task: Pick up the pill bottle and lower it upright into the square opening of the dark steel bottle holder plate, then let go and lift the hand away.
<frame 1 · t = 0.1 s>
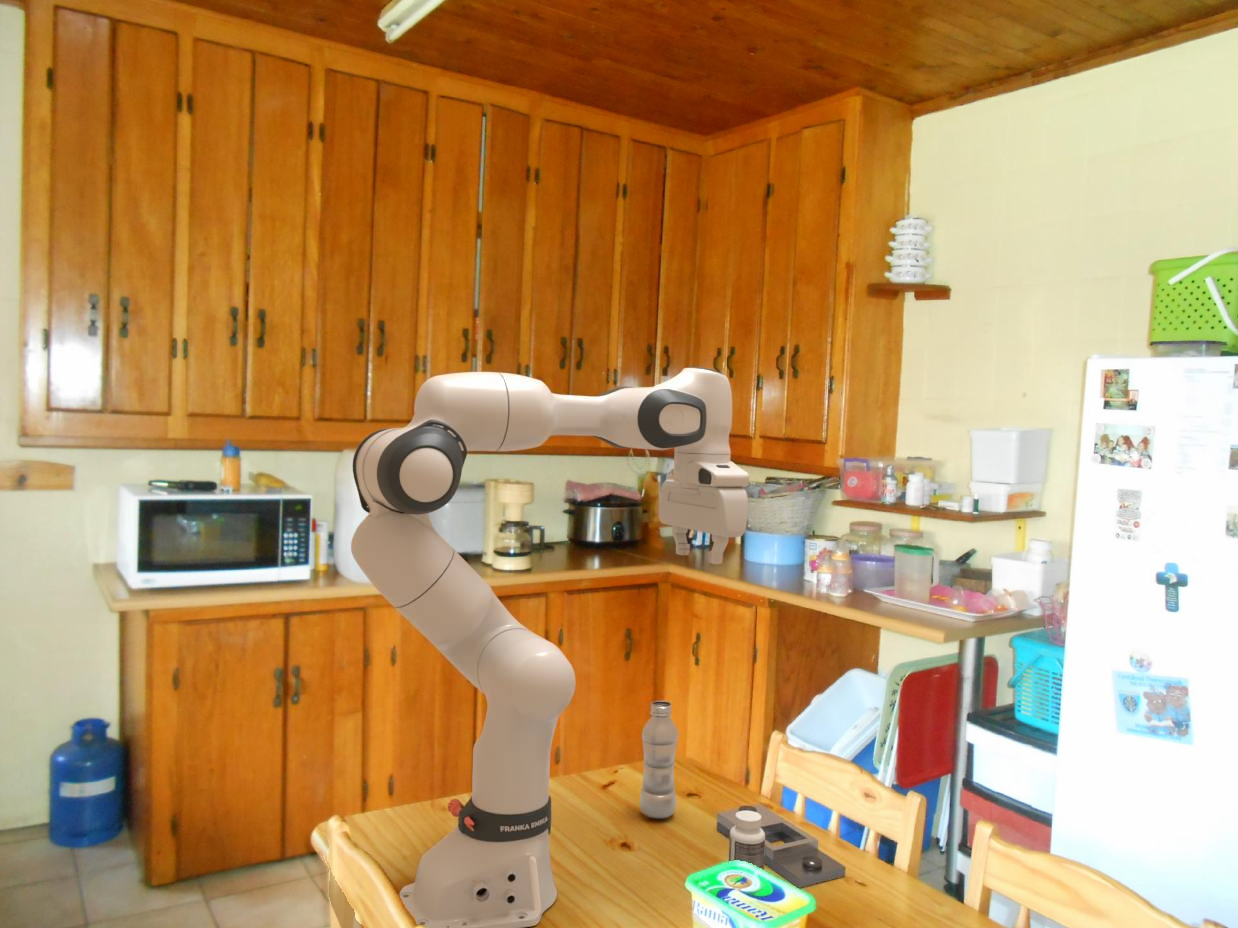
hand: (698, 558, 148), 48 cm above the table, tool pointing down, fingers open, 8 cm apart
plastic bottle: (657, 816, 165), on the table
pill bottle: (745, 879, 143), on the table
bottle holder plate: (777, 851, 152), on the table
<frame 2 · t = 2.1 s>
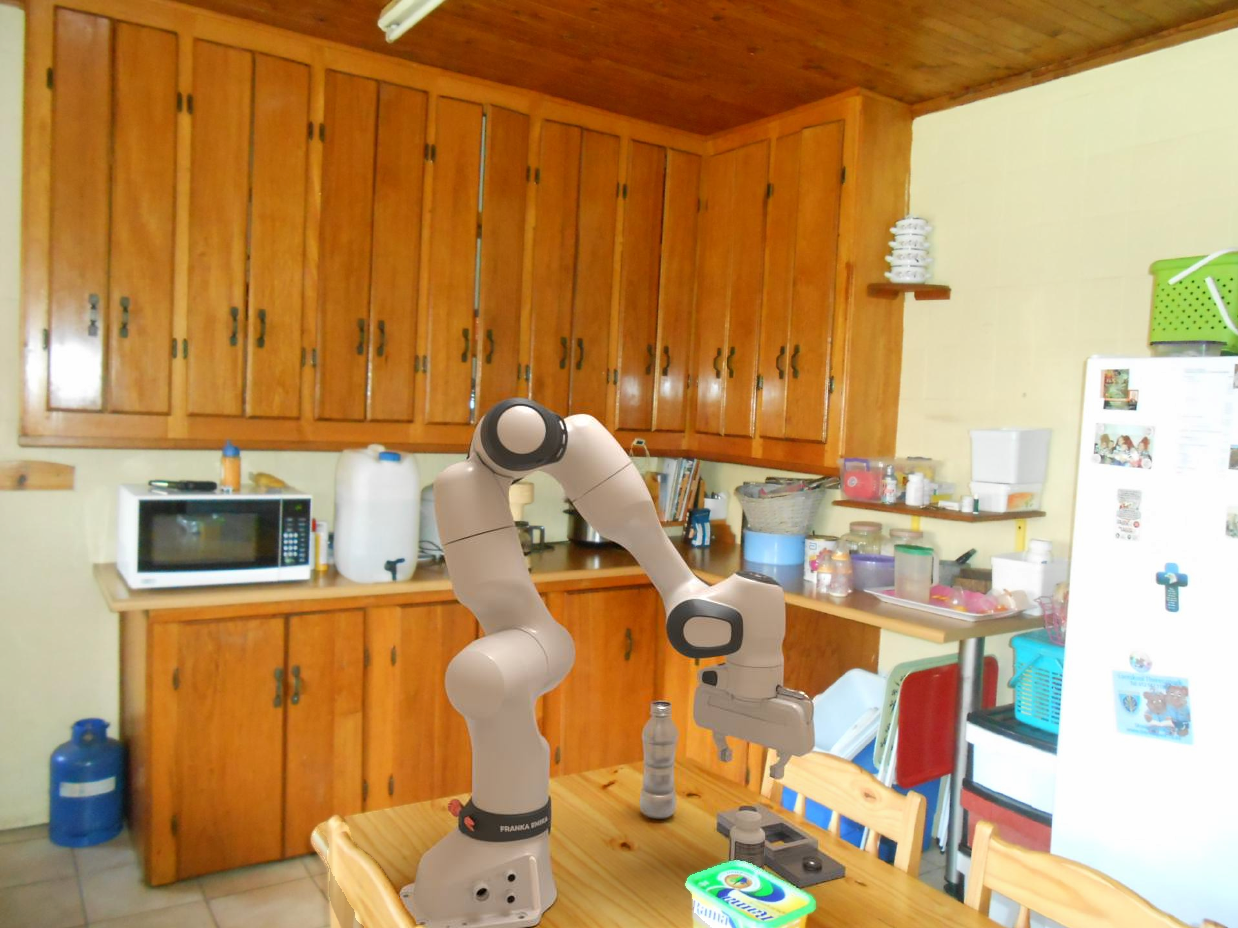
hand: (750, 768, 143), 17 cm above the table, tool pointing down, fingers open, 8 cm apart
nothing on the table moved.
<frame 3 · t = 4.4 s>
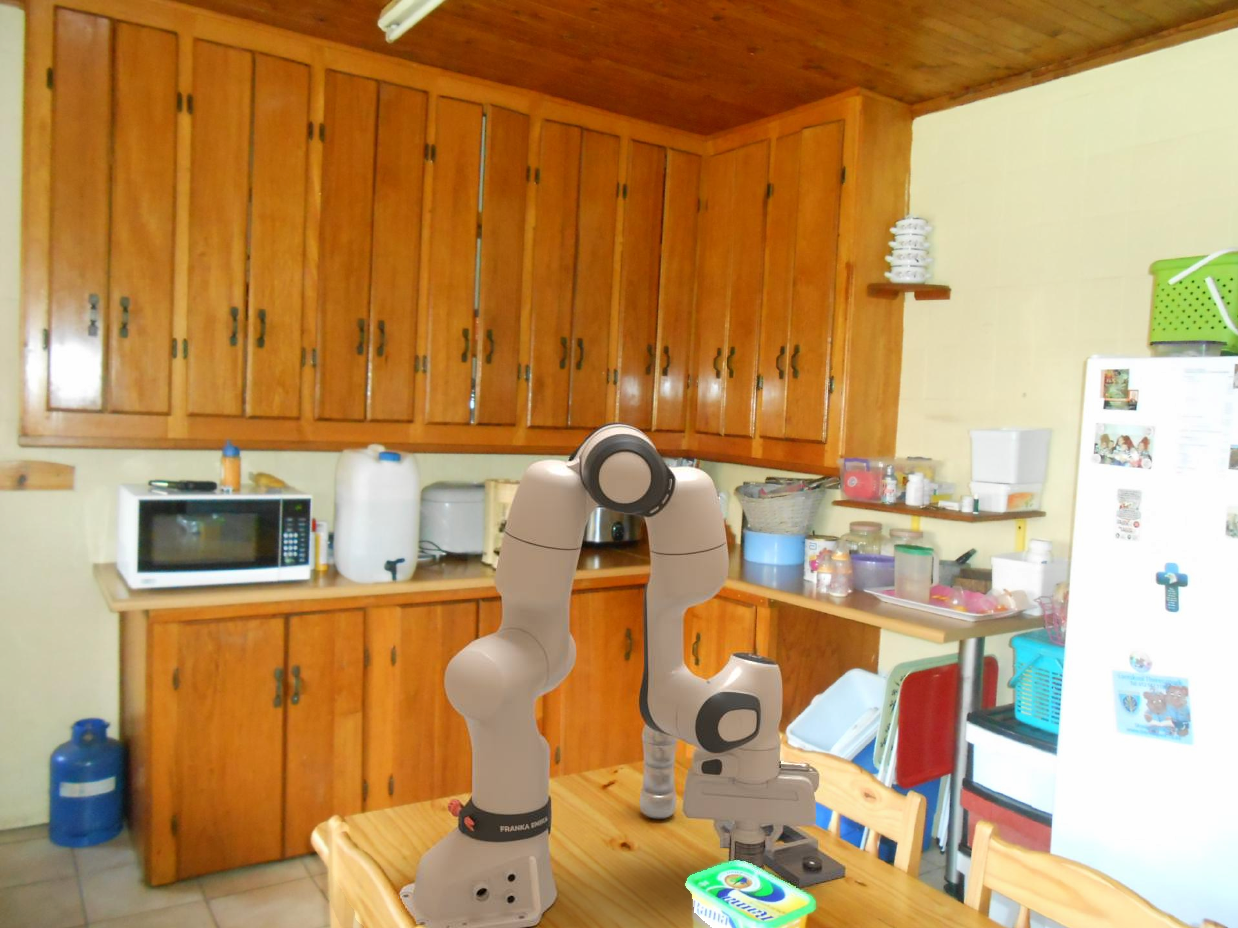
hand: (746, 848, 143), 5 cm above the table, tool pointing down, fingers closed on pill bottle, 5 cm apart
pill bottle: (745, 878, 143), on the table, touching gripper
everything else where it was.
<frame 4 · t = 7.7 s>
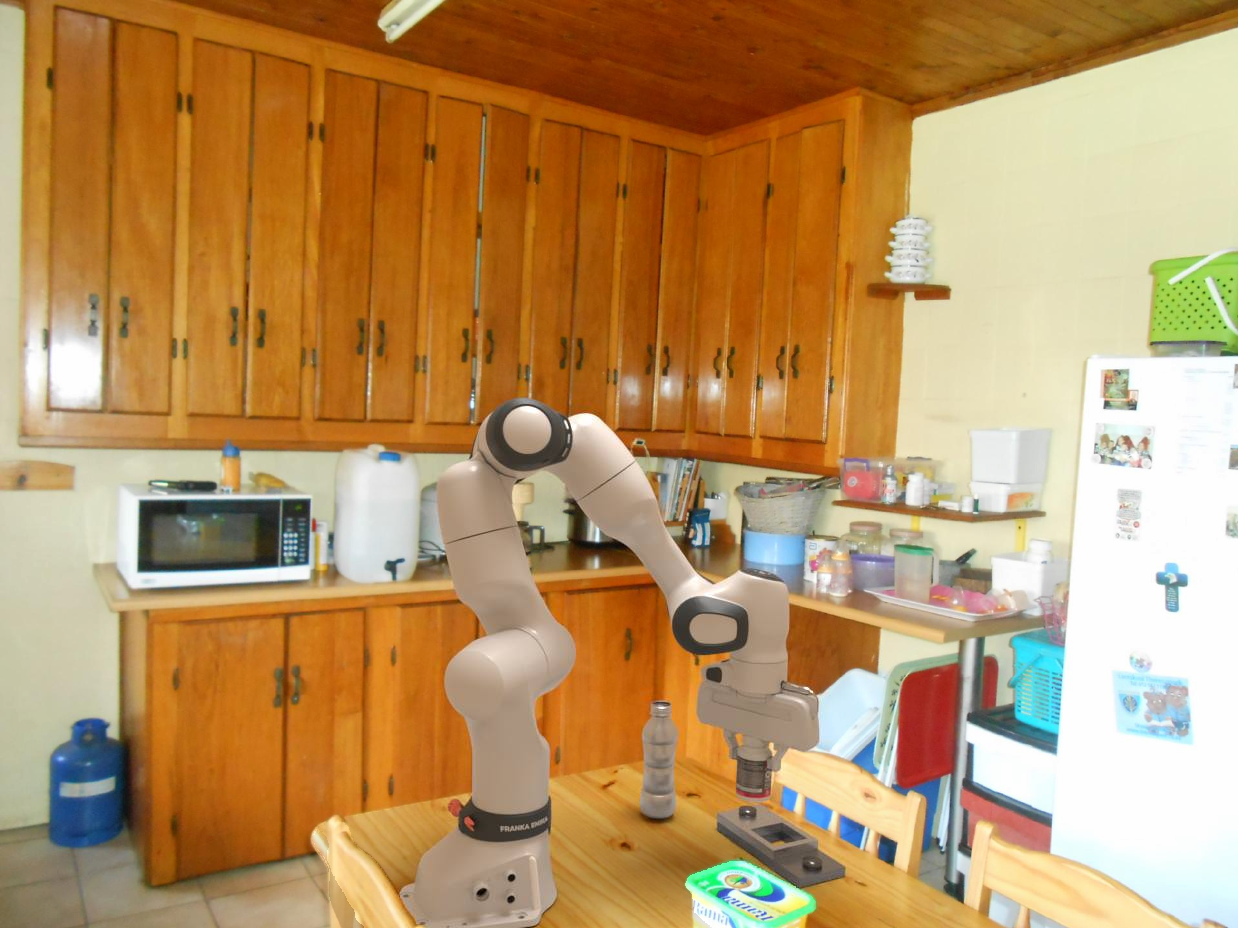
hand: (754, 764, 144), 17 cm above the table, tool pointing down, fingers closed on pill bottle, 5 cm apart
pill bottle: (753, 797, 144), point 12 cm above the table, touching gripper
everything else where it was.
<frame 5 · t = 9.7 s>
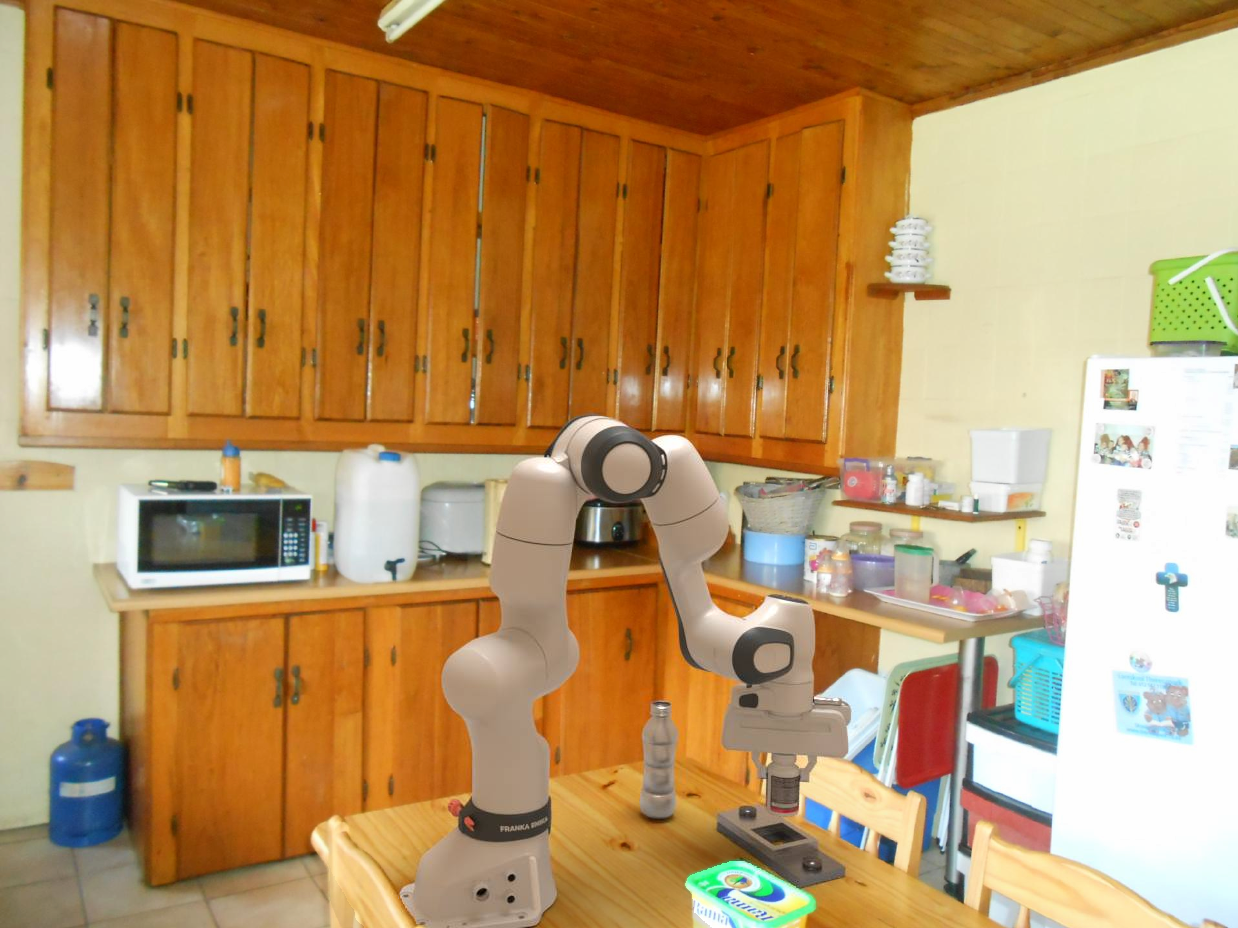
hand: (782, 779, 152), 12 cm above the table, tool pointing down, fingers closed on pill bottle, 5 cm apart
pill bottle: (782, 812, 152), point 7 cm above the table, touching gripper
everything else where it was.
when the fingers open (6 cm above the table, at t = 11.3 s): pill bottle stays where it is, resting in bottle holder plate.
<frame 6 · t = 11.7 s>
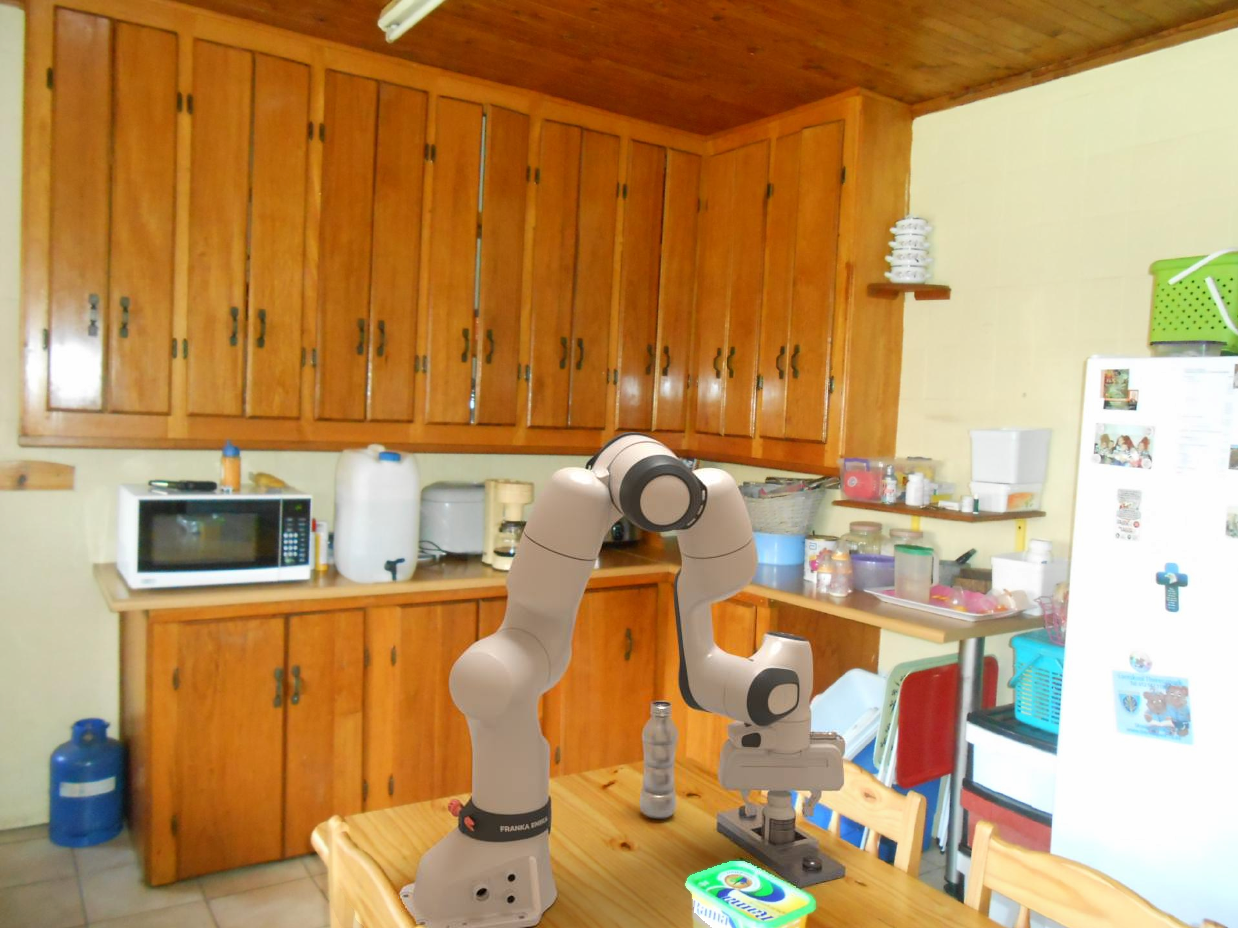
hand: (779, 815, 152), 6 cm above the table, tool pointing down, fingers open, 8 cm apart
pill bottle: (777, 853, 152), resting in bottle holder plate
everything else where it was.
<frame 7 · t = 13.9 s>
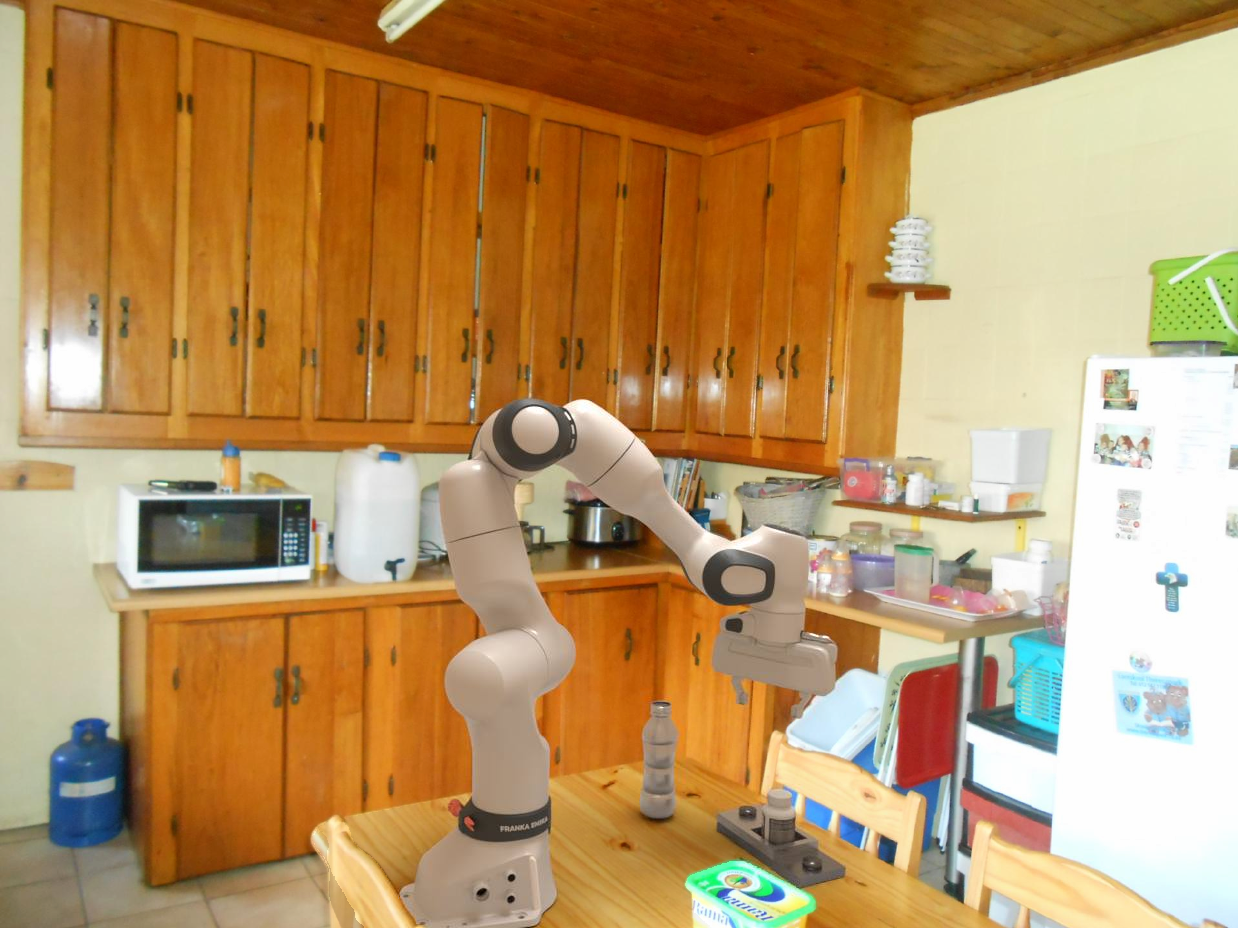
hand: (768, 710, 151), 23 cm above the table, tool pointing down, fingers open, 8 cm apart
nothing on the table moved.
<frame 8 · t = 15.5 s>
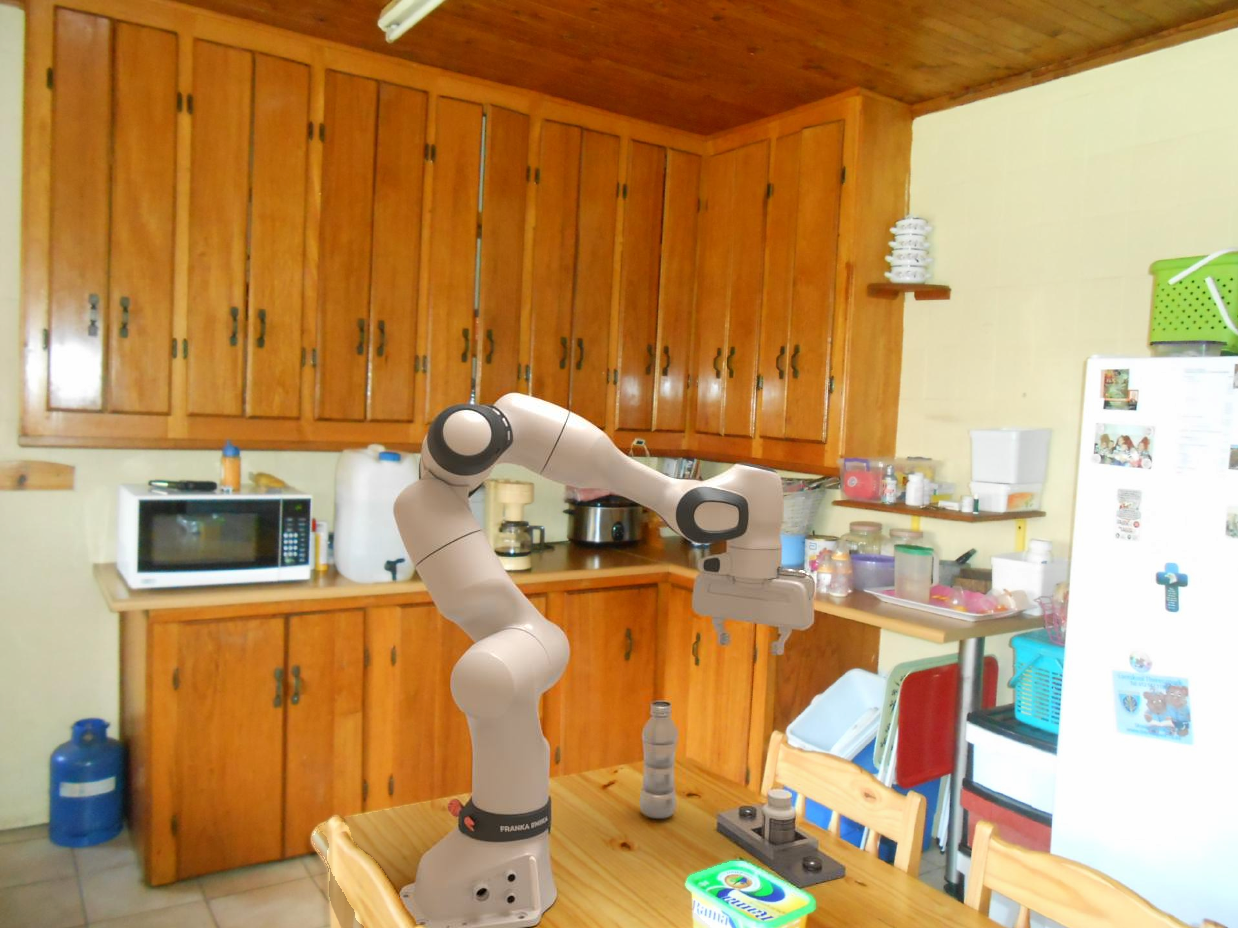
hand: (750, 649, 151), 33 cm above the table, tool pointing down, fingers open, 8 cm apart
nothing on the table moved.
at the end: pill bottle 0.1 cm off-centre on the bottle holder plate, point 0.0 cm above the bottle holder plate's base; pill bottle tilted 0°; the gripper is holding nothing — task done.
